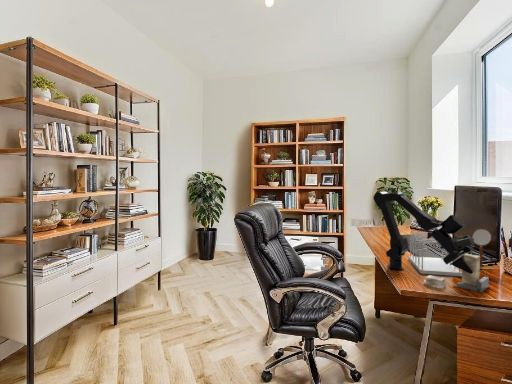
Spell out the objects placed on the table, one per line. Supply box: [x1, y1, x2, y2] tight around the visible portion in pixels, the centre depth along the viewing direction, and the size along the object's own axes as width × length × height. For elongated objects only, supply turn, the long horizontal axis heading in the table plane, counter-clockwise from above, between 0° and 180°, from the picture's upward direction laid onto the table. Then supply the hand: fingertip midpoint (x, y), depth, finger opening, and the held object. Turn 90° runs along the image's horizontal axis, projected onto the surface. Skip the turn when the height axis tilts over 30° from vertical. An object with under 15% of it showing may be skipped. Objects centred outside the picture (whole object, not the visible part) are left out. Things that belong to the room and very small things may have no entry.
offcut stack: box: [422, 274, 447, 290], centre depth 127 cm, size 7×5×4 cm
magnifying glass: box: [470, 227, 493, 269], centre depth 146 cm, size 9×2×20 cm, turn 76°
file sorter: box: [407, 231, 462, 277], centre depth 150 cm, size 25×17×16 cm
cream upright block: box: [461, 254, 481, 286], centre depth 125 cm, size 5×4×13 cm
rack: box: [456, 276, 490, 293], centre depth 124 cm, size 8×9×4 cm
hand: (474, 271), depth 124 cm, fingers open, 6 cm apart
